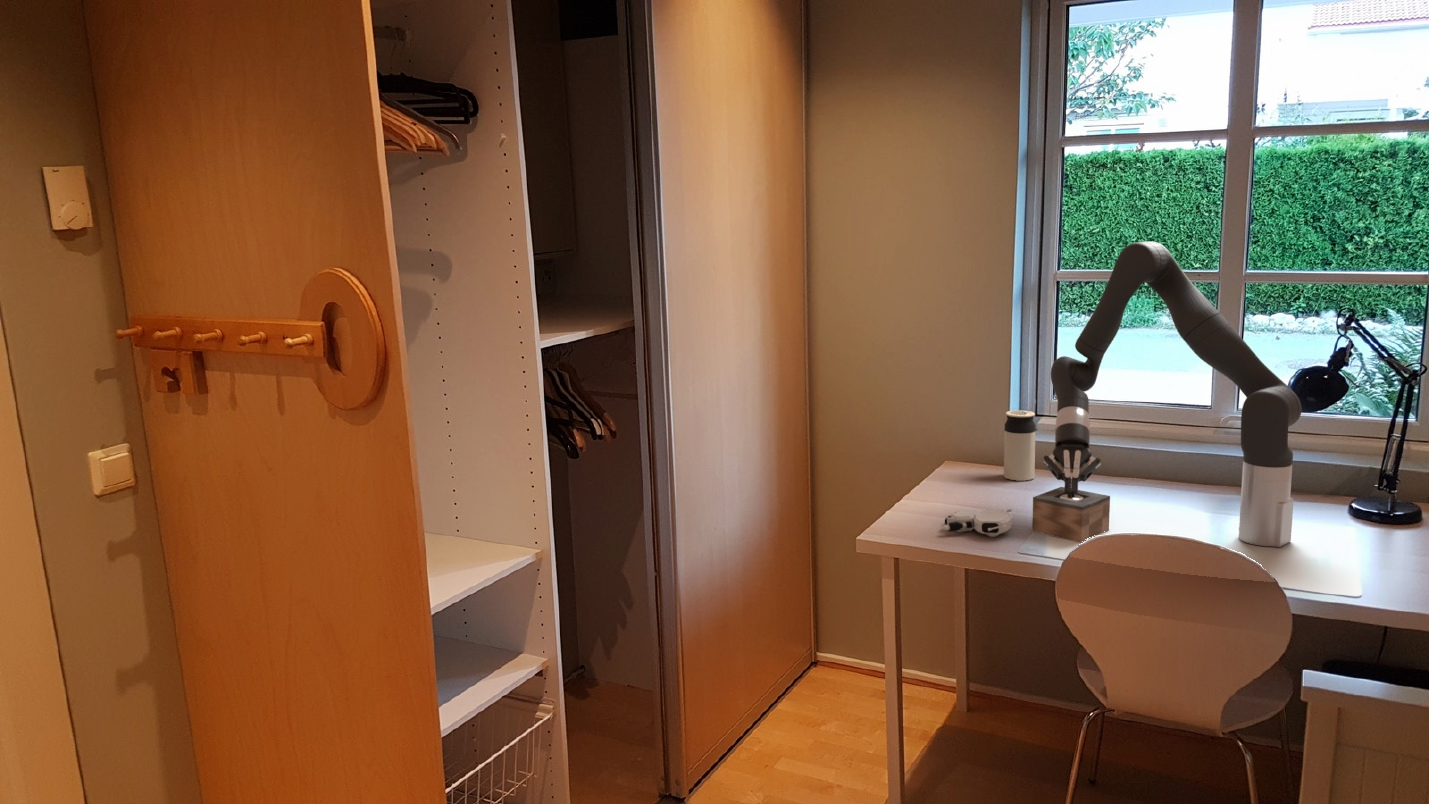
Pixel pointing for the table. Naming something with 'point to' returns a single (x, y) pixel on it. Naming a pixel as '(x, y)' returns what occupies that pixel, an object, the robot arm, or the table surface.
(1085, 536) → the band block
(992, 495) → the table surface
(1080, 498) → the peg
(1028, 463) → the travel mug
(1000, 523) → the robot toy
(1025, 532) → the table surface
